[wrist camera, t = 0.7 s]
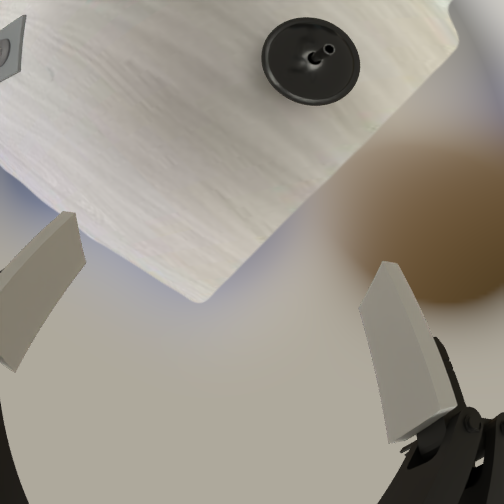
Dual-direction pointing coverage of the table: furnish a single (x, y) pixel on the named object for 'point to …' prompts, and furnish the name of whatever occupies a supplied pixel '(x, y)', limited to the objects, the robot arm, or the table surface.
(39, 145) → the table surface
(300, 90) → the drinking cup
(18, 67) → the grey peg stand
